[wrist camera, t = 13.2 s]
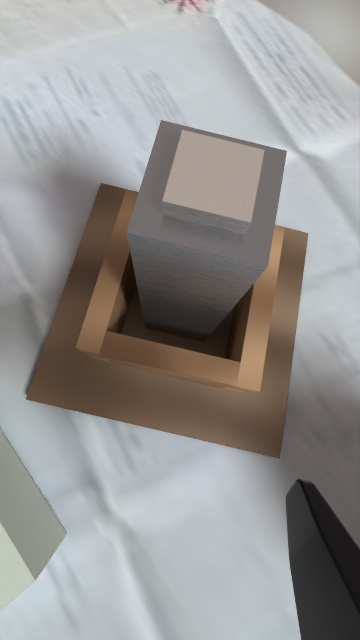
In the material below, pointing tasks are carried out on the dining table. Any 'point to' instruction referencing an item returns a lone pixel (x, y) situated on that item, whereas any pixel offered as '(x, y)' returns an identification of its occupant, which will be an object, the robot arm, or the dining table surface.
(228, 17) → the dining table surface
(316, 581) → the robot arm
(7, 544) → the narrow slot block
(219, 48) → the dining table surface
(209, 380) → the square sleeve
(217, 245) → the square bit
